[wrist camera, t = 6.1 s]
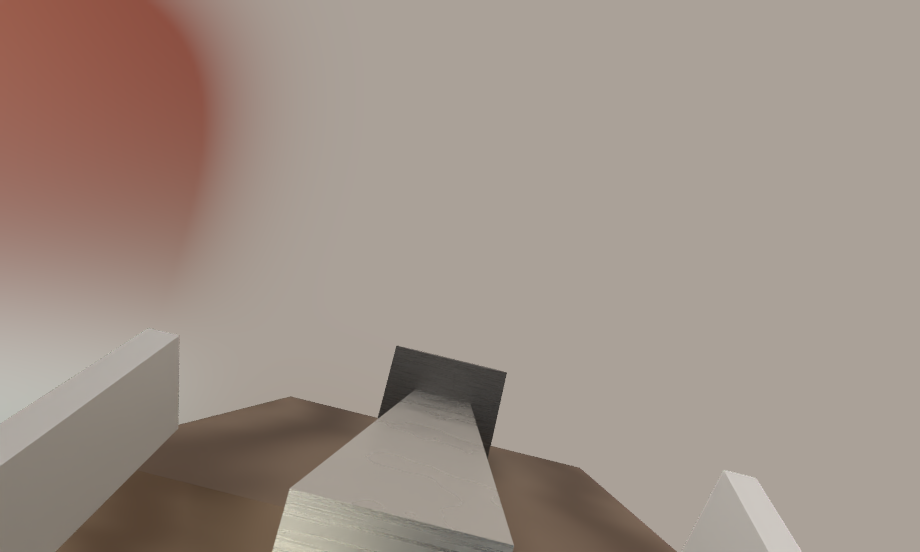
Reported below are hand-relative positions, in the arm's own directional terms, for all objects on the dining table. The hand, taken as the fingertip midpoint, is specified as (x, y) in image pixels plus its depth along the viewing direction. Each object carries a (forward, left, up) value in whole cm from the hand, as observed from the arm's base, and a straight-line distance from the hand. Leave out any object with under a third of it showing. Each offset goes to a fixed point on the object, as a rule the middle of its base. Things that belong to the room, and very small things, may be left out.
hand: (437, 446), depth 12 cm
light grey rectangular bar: (0, +7, -3) cm, 8 cm away
